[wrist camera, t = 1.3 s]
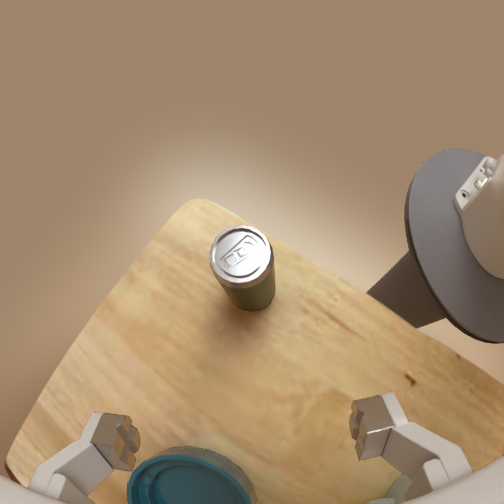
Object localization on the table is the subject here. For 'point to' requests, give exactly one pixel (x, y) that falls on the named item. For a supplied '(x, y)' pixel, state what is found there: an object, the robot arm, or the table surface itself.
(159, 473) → the teal bowl
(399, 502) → the mug
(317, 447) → the table surface
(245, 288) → the green soda can
